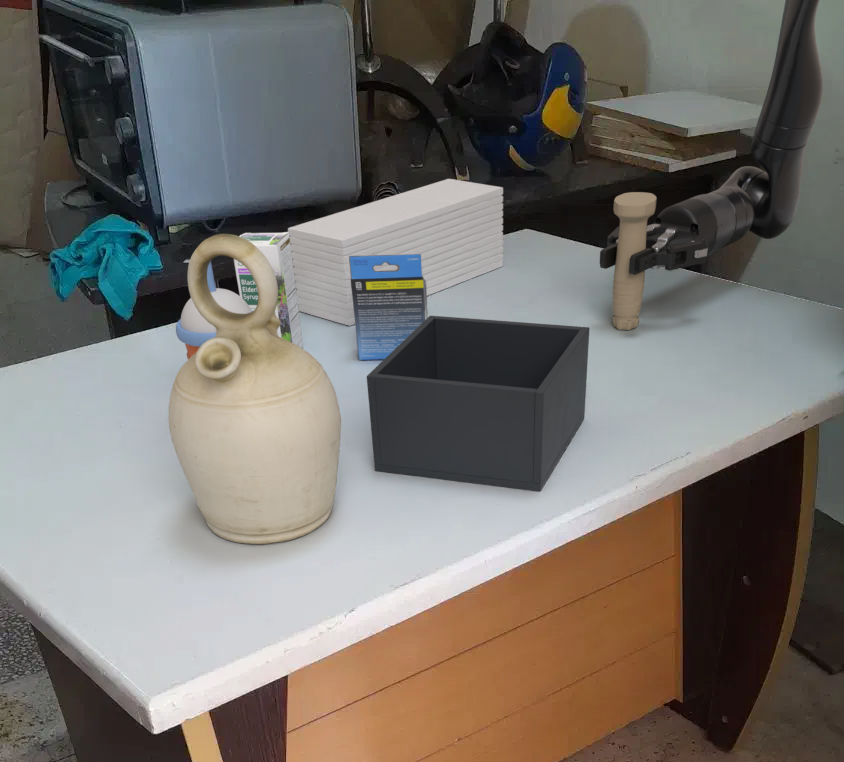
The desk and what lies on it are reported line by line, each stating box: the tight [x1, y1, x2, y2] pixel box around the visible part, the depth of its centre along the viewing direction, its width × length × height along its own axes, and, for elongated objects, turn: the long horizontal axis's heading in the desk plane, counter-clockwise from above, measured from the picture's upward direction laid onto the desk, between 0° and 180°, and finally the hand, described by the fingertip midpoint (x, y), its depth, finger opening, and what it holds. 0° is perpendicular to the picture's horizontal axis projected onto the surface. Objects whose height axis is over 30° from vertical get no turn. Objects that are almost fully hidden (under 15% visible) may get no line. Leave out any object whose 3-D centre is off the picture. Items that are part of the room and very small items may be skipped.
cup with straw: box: [175, 261, 253, 360], centre depth 110 cm, size 9×9×18 cm
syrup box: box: [233, 231, 304, 349], centre depth 124 cm, size 6×6×14 cm
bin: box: [366, 315, 590, 492], centre depth 104 cm, size 18×18×10 cm
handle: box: [612, 191, 657, 331], centre depth 126 cm, size 5×6×15 cm
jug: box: [168, 233, 342, 545], centre depth 90 cm, size 15×16×25 cm
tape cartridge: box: [349, 254, 429, 361], centre depth 124 cm, size 9×4×12 cm, turn 84°
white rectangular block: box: [287, 178, 504, 327], centre depth 145 cm, size 32×11×11 cm, turn 136°
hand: (617, 262), depth 124 cm, fingers open, 3 cm apart
